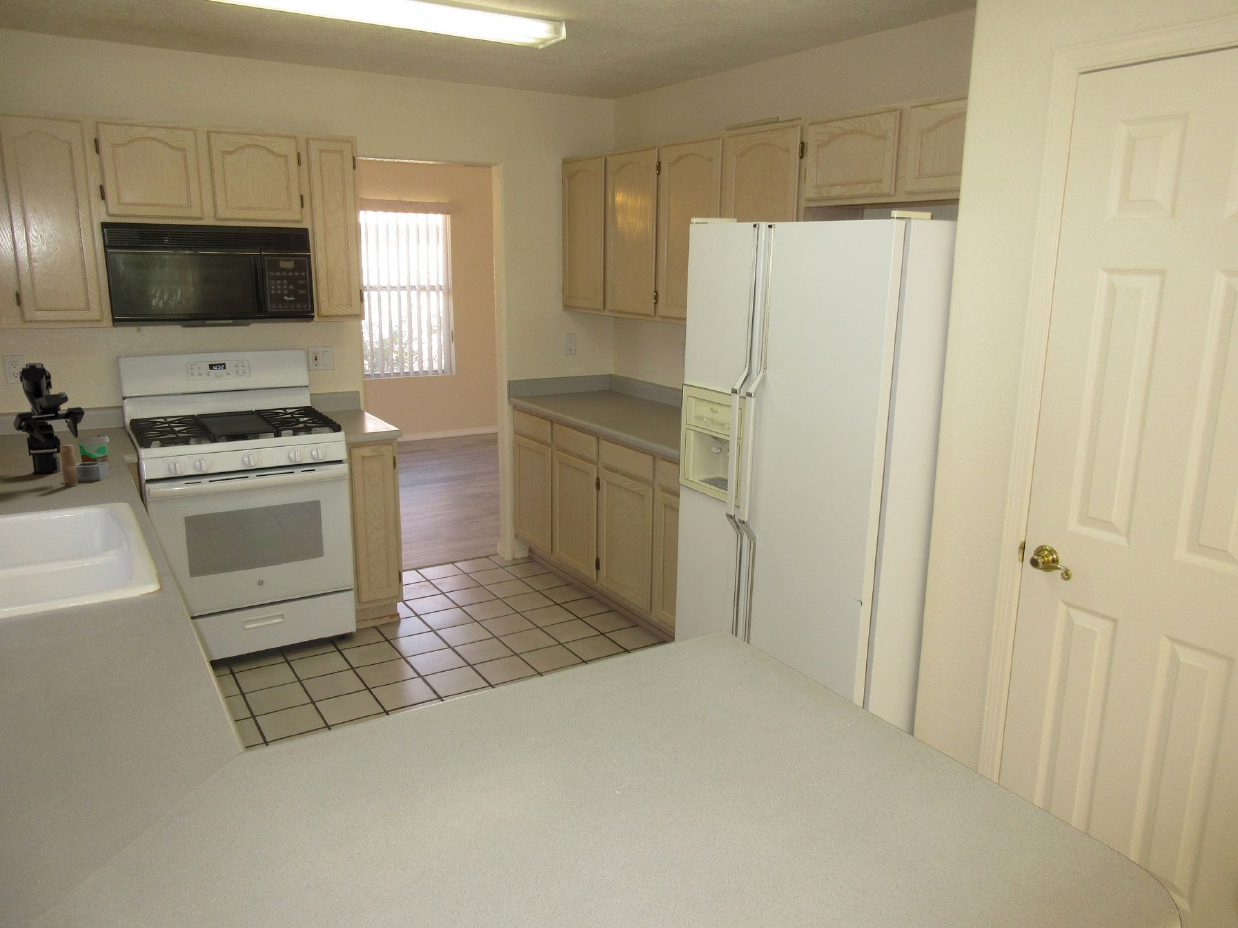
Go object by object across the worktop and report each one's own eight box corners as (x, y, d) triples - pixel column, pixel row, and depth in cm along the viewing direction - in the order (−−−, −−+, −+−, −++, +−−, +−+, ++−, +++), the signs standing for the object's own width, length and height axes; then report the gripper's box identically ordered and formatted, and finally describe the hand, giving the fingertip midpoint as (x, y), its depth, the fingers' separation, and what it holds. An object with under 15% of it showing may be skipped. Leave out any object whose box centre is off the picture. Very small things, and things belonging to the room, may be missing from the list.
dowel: (62, 487, 266) (57, 446, 264) (66, 484, 270) (62, 444, 267) (75, 486, 267) (70, 446, 265) (79, 484, 270) (74, 444, 268)
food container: (98, 468, 296) (95, 439, 294) (80, 468, 296) (76, 439, 294) (119, 462, 308) (116, 434, 306) (102, 462, 308) (99, 434, 306)
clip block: (68, 481, 274) (67, 467, 273) (79, 476, 283) (77, 462, 282) (100, 480, 276) (98, 466, 275) (109, 474, 285) (108, 461, 284)
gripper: (13, 387, 263) (34, 427, 259) (78, 381, 278) (100, 419, 275) (4, 410, 269) (25, 449, 265) (69, 403, 284) (89, 441, 280)
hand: (61, 439), depth 271 cm, fingers open, 9 cm apart
